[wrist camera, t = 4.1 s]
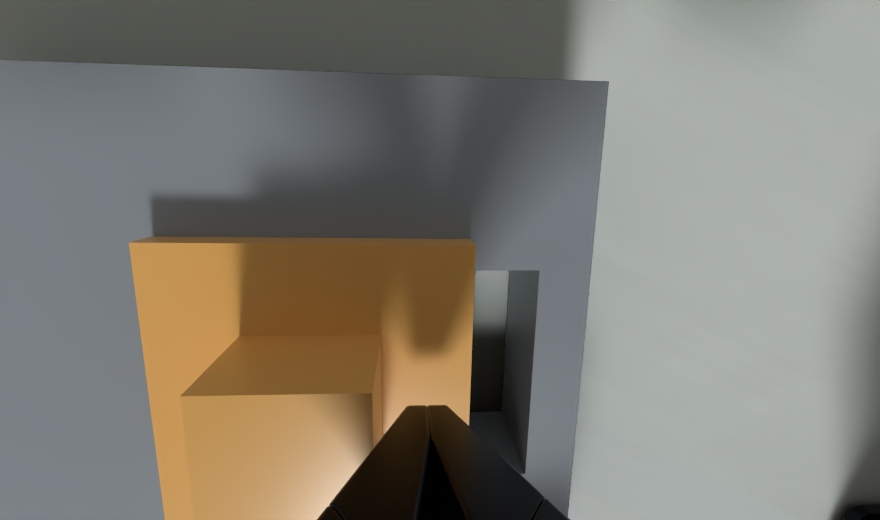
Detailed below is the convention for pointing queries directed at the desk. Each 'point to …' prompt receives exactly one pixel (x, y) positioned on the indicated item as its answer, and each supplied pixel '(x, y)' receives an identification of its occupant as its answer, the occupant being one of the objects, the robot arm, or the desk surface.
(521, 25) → the desk surface
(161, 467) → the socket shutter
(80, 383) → the socket board
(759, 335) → the desk surface
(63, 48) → the desk surface
